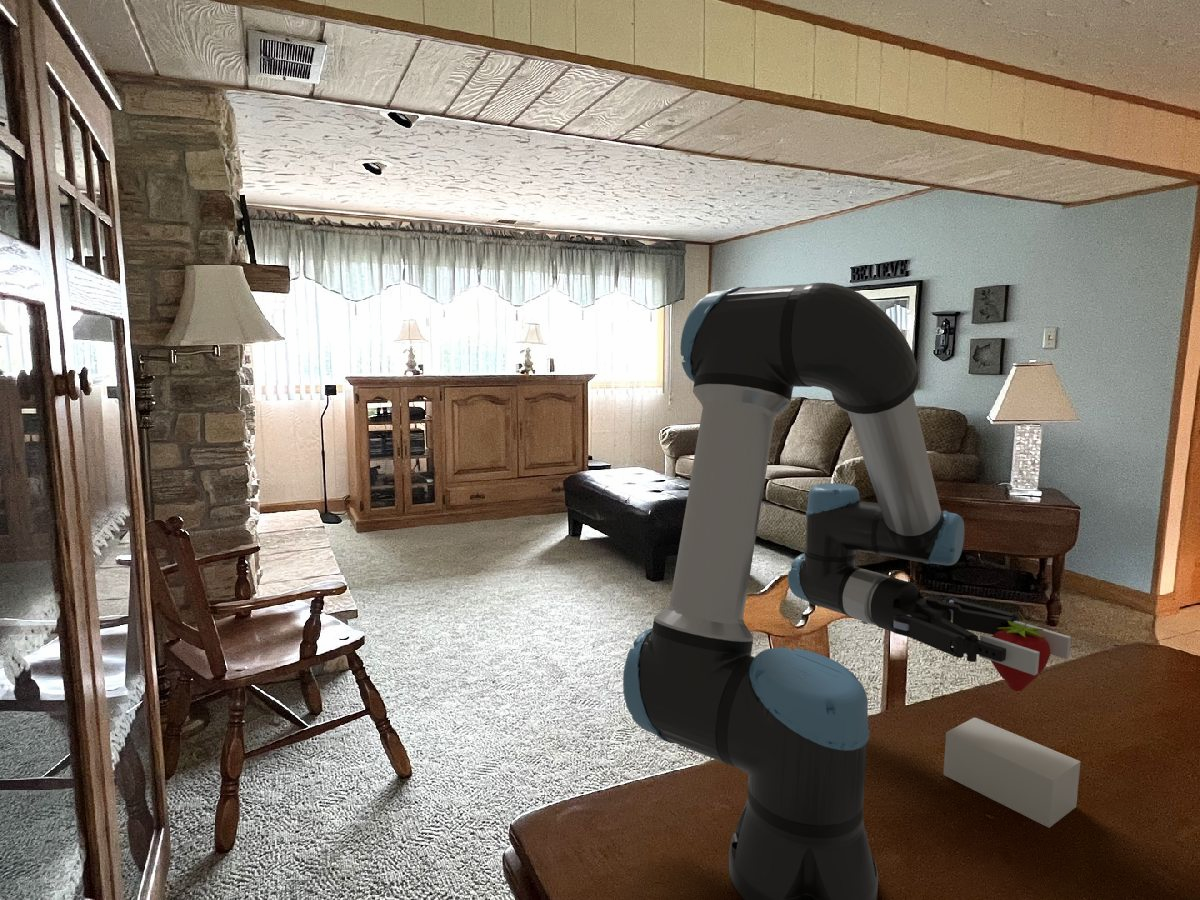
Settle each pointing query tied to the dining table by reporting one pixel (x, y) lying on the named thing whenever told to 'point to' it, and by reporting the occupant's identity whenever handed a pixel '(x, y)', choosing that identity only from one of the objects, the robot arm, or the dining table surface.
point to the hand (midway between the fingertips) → (1053, 655)
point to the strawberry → (1026, 639)
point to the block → (1012, 770)
